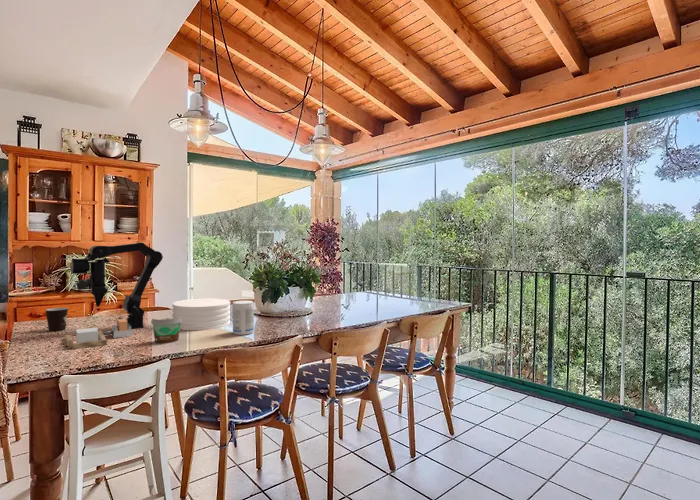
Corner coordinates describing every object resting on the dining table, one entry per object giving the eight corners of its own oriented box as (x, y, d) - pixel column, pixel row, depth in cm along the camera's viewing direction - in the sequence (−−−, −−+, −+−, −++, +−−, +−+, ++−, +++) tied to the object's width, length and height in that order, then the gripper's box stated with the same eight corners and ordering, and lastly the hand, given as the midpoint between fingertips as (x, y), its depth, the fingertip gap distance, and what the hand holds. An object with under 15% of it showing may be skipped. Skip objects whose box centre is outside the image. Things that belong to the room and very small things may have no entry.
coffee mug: (56, 332, 191) (56, 311, 190) (41, 331, 192) (40, 310, 192) (78, 327, 202) (77, 307, 202) (63, 326, 204) (62, 306, 203)
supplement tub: (252, 330, 201) (252, 300, 201) (254, 334, 192) (255, 302, 192) (231, 331, 198) (231, 300, 197) (233, 336, 189) (233, 303, 188)
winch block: (129, 332, 192) (129, 323, 192) (131, 335, 186) (131, 326, 186) (101, 336, 185) (101, 326, 185) (103, 339, 180) (103, 328, 180)
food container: (151, 345, 171) (151, 321, 171) (151, 341, 177) (151, 318, 176) (183, 342, 177) (183, 318, 177) (182, 338, 182) (182, 316, 182)
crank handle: (123, 326, 191) (123, 315, 191) (127, 330, 184) (127, 319, 184) (116, 327, 189) (116, 316, 189) (119, 331, 182) (119, 319, 182)
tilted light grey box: (96, 341, 175) (96, 327, 175) (98, 345, 170) (98, 330, 169) (76, 344, 171) (76, 329, 171) (77, 348, 165) (77, 333, 165)
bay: (101, 335, 186) (101, 331, 186) (106, 344, 170) (106, 340, 170) (66, 339, 179) (66, 334, 179) (68, 349, 163) (68, 344, 163)
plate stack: (241, 323, 218) (241, 301, 217) (196, 333, 194) (196, 308, 194) (206, 317, 233) (206, 296, 232) (160, 325, 209) (160, 303, 209)
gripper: (75, 272, 194) (75, 305, 195) (78, 275, 180) (78, 311, 180) (103, 271, 201) (103, 303, 202) (107, 274, 186) (108, 308, 187)
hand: (97, 306), depth 192 cm, fingers closed
